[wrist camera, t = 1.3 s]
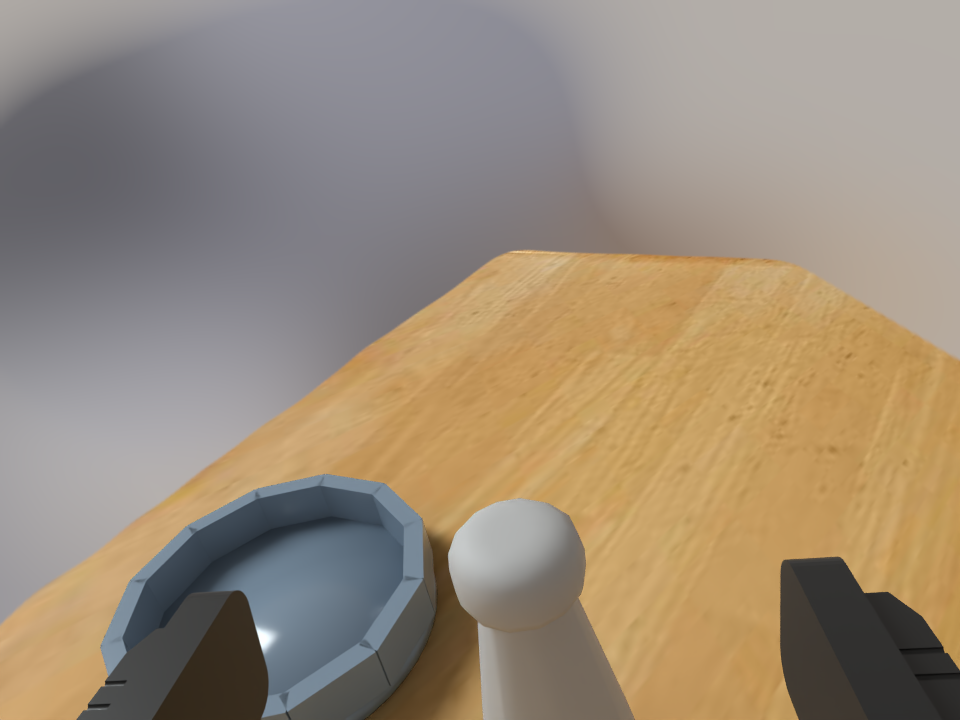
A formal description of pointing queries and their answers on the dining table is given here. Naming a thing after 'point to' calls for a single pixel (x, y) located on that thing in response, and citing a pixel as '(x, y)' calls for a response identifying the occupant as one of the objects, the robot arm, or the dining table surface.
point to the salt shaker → (532, 616)
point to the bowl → (303, 590)
